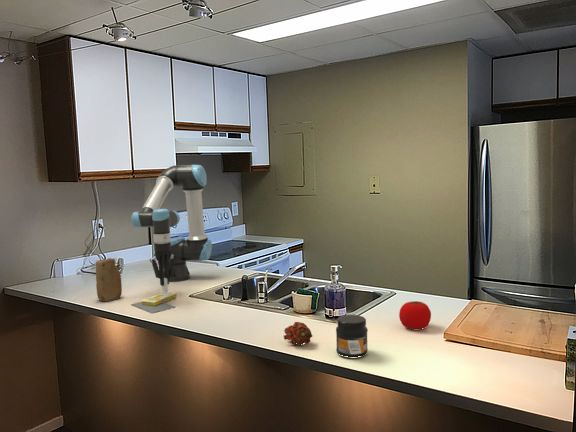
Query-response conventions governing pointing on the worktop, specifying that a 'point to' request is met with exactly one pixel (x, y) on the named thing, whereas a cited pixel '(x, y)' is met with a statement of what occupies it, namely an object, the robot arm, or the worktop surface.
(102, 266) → the block
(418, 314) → the tomato
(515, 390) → the worktop surface
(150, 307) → the mat
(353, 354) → the supplement container
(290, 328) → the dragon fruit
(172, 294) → the candy box
